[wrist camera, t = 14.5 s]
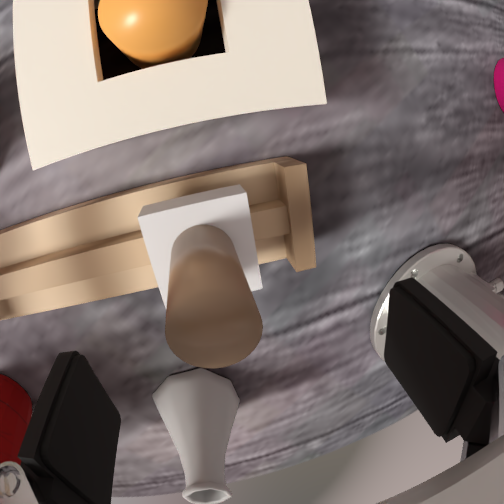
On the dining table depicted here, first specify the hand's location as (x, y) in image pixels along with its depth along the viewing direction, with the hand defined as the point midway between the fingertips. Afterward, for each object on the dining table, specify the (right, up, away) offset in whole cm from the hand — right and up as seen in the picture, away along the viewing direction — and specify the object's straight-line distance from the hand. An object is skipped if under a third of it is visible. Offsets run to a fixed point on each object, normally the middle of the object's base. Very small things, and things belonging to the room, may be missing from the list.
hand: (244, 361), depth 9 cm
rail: (-9, +4, +10) cm, 14 cm away
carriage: (-3, +4, +9) cm, 11 cm away
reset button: (-4, +14, +4) cm, 15 cm away
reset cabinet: (-5, +15, +6) cm, 17 cm away
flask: (-5, -9, +17) cm, 20 cm away
